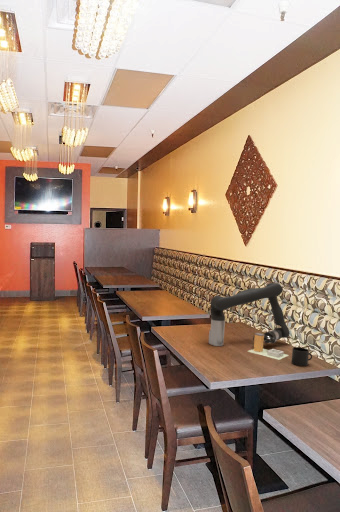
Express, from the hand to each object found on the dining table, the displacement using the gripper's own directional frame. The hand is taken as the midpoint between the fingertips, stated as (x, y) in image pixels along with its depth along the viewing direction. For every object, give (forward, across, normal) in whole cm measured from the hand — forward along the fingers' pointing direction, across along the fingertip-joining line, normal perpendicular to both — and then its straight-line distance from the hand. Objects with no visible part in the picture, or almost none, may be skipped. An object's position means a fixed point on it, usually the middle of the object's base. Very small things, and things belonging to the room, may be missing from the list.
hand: (259, 340), depth 273 cm
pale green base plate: (+1, +7, +8) cm, 11 cm away
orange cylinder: (+1, 0, +6) cm, 7 cm away
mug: (0, +29, +8) cm, 30 cm away
